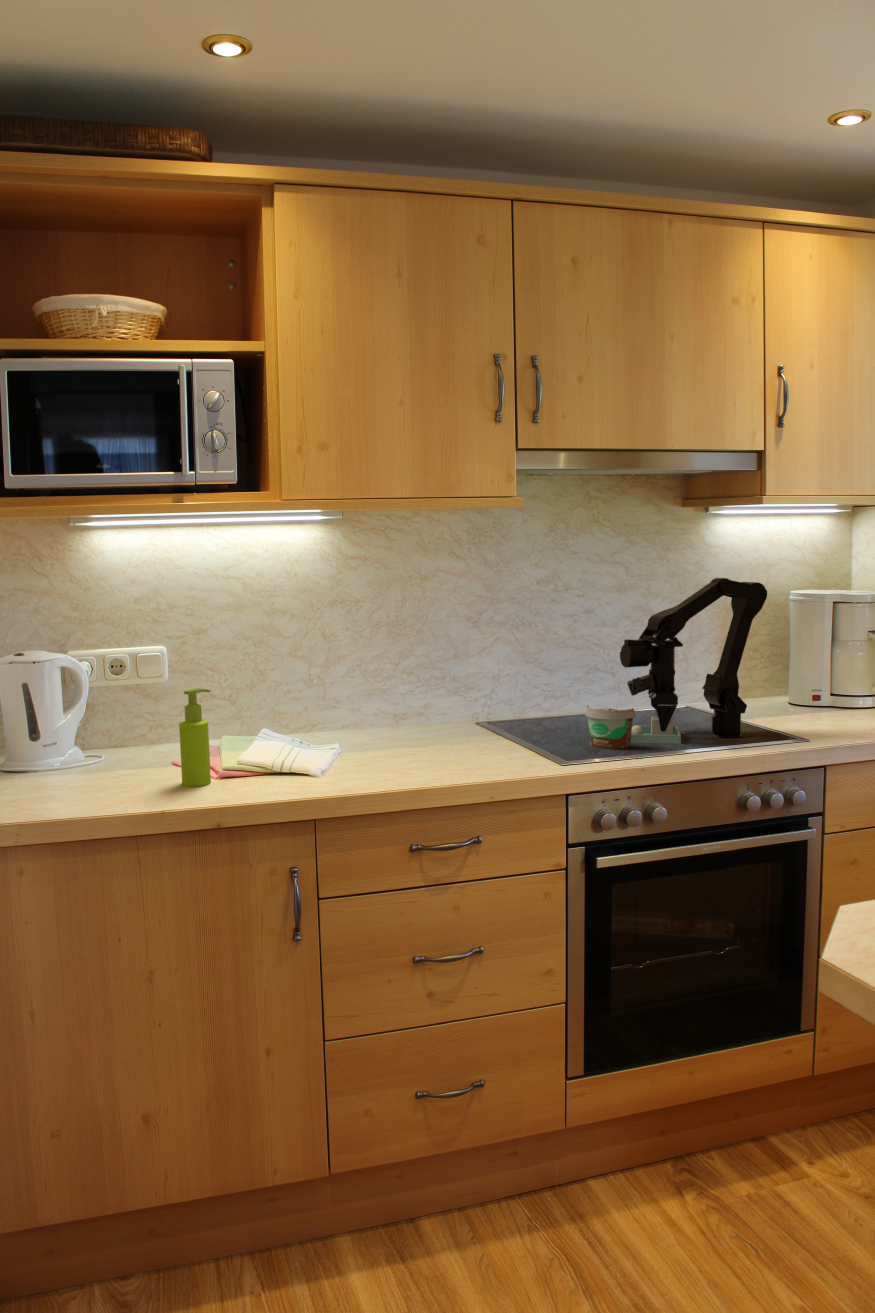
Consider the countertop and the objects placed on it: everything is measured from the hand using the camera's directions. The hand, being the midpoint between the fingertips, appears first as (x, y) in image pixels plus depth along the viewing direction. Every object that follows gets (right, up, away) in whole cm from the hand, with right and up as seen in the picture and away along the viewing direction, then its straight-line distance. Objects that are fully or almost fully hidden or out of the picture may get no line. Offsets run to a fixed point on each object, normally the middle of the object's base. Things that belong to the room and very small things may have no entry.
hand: (662, 727), depth 231 cm
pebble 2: (-6, -3, -1) cm, 7 cm away
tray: (-2, -3, +1) cm, 4 cm away
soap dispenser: (-106, -9, -34) cm, 112 cm away
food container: (-15, -5, -9) cm, 18 cm away
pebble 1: (-6, -2, +3) cm, 7 cm away
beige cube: (0, -3, 0) cm, 3 cm away
